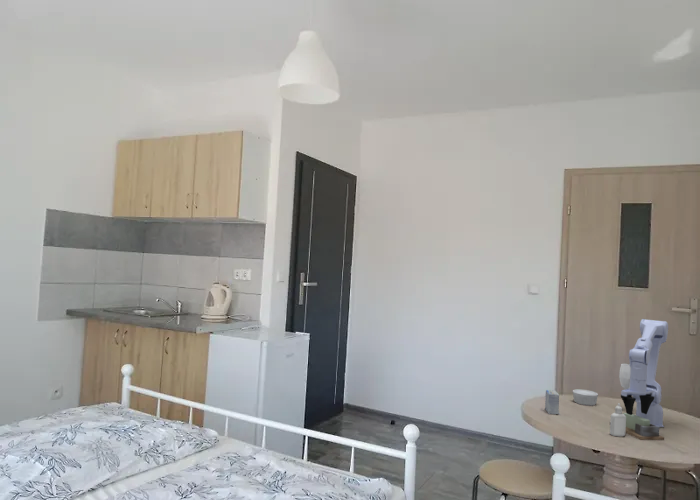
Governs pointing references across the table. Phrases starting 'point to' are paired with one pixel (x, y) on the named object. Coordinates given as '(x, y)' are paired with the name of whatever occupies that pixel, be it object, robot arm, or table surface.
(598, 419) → the table surface
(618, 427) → the eye dropper bottle
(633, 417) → the rail plank
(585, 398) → the ramekin
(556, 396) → the medicine box
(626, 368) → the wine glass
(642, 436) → the slotted holder
